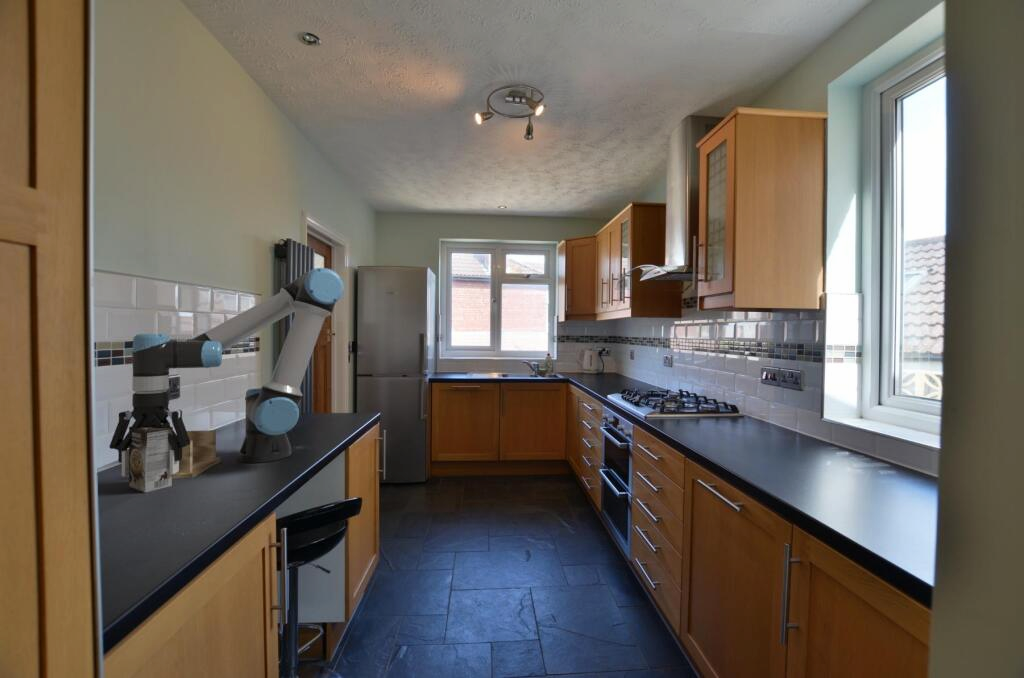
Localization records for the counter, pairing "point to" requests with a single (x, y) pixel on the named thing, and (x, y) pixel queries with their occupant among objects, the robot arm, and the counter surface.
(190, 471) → the oak holder
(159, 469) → the coffee box
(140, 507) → the counter surface
